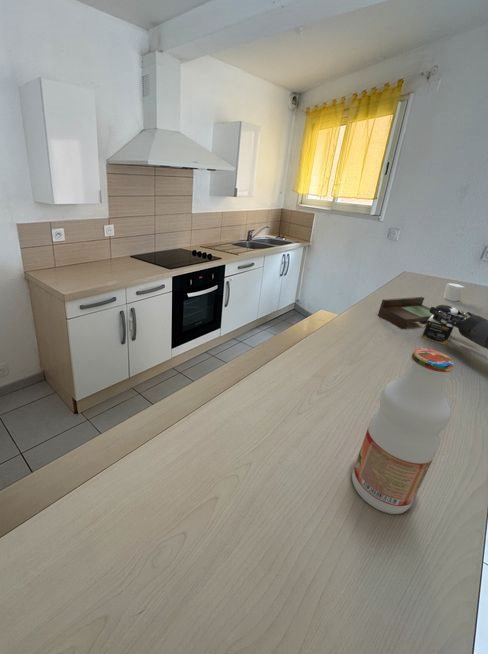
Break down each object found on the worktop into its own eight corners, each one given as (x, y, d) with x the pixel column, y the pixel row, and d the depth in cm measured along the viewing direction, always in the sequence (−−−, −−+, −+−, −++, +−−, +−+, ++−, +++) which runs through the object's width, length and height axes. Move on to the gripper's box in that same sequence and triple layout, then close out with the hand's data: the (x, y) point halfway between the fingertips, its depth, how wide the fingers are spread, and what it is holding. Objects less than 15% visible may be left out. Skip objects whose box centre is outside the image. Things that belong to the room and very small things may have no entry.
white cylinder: (444, 295, 156) (449, 281, 154) (461, 299, 152) (467, 285, 149) (439, 298, 152) (445, 284, 149) (457, 302, 147) (463, 288, 145)
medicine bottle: (421, 337, 113) (433, 306, 109) (425, 331, 118) (437, 301, 113) (445, 345, 109) (459, 313, 104) (449, 338, 114) (462, 307, 109)
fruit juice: (369, 517, 53) (426, 375, 42) (341, 467, 61) (382, 339, 50) (423, 515, 53) (494, 375, 42) (388, 467, 62) (439, 340, 51)
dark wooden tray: (416, 312, 135) (421, 296, 132) (443, 325, 124) (450, 308, 121) (377, 315, 130) (382, 299, 127) (402, 329, 119) (408, 312, 116)
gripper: (511, 321, 96) (463, 300, 111) (465, 320, 95) (424, 299, 110) (500, 343, 98) (455, 319, 114) (456, 343, 97) (416, 318, 113)
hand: (440, 309), depth 112 cm, fingers closed on medicine bottle, 6 cm apart
